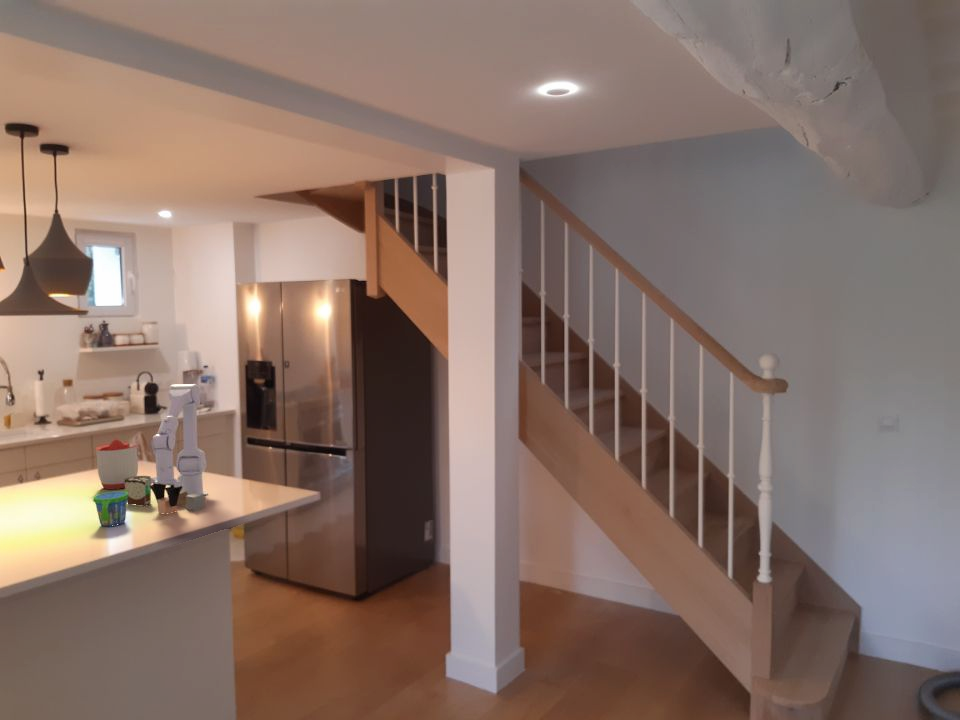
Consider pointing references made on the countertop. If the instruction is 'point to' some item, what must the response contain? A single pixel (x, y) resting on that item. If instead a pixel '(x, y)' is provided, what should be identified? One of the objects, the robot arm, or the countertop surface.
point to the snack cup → (111, 507)
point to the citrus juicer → (116, 463)
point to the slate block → (195, 501)
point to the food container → (138, 490)
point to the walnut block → (182, 498)
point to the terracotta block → (165, 506)
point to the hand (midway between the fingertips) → (167, 504)
